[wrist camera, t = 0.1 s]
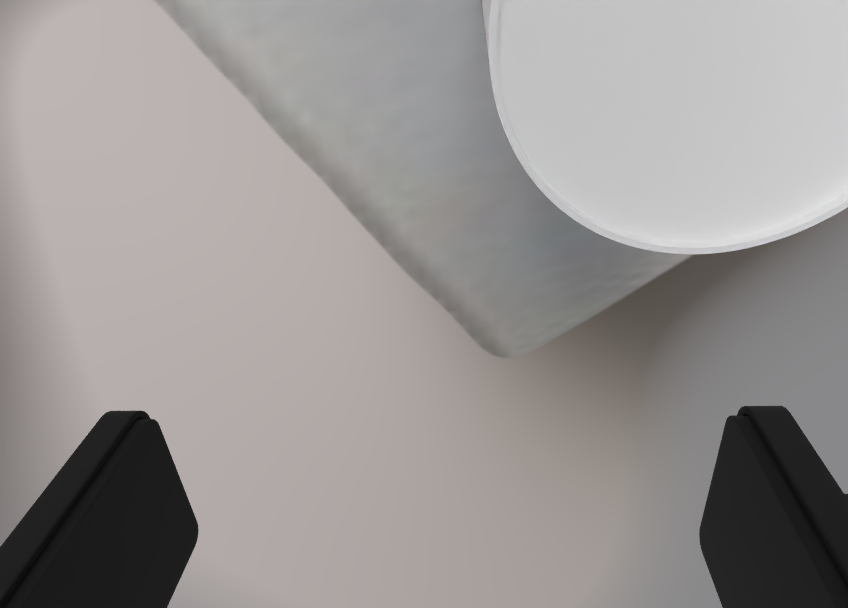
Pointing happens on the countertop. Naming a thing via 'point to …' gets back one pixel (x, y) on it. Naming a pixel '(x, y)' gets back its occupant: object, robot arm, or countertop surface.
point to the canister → (677, 114)
